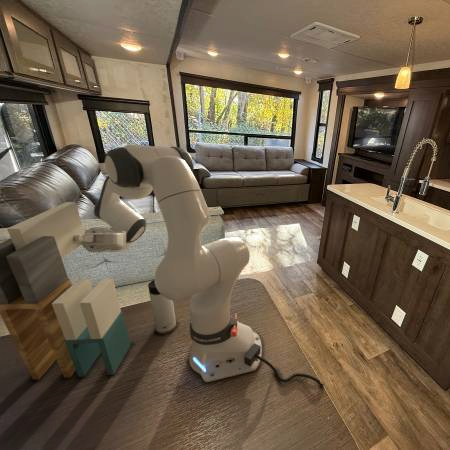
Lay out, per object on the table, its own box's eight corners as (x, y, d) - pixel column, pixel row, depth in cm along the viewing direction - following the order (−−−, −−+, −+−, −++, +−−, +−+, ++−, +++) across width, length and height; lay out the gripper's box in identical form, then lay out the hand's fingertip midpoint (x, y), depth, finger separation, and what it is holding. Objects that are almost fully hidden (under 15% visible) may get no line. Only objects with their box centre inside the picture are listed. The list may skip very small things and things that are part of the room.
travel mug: (169, 336, 84) (161, 288, 76) (151, 331, 85) (142, 284, 77) (180, 322, 89) (174, 277, 82) (164, 318, 90) (157, 273, 83)
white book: (86, 240, 79) (75, 202, 74) (37, 275, 61) (19, 228, 56) (78, 240, 78) (66, 201, 73) (26, 275, 61) (6, 228, 56)
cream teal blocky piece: (130, 345, 79) (114, 278, 69) (113, 374, 70) (91, 302, 60) (99, 346, 78) (78, 278, 68) (78, 376, 69) (49, 303, 59)
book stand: (92, 346, 78) (55, 236, 62) (70, 377, 69) (20, 256, 53) (60, 348, 76) (14, 235, 61) (32, 379, 67) (-30, 256, 52)
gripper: (66, 230, 85) (29, 226, 71) (131, 231, 88) (107, 228, 75) (64, 248, 84) (26, 248, 71) (129, 249, 88) (105, 248, 74)
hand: (69, 237), depth 73 cm, fingers closed on white book, 2 cm apart
